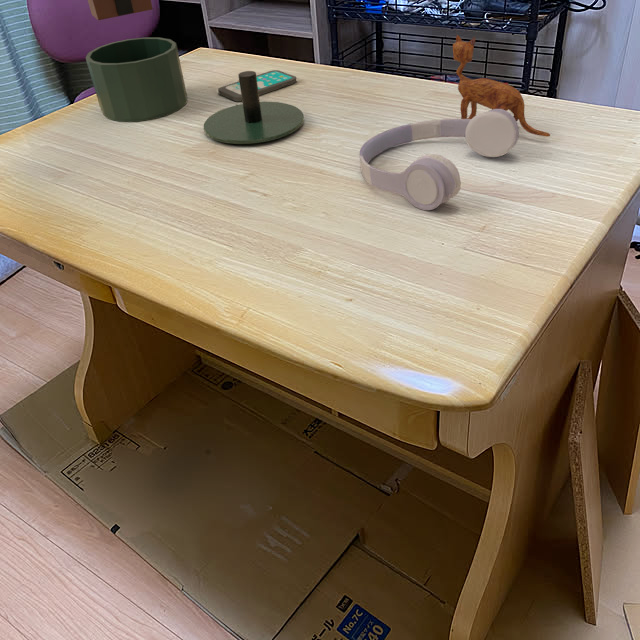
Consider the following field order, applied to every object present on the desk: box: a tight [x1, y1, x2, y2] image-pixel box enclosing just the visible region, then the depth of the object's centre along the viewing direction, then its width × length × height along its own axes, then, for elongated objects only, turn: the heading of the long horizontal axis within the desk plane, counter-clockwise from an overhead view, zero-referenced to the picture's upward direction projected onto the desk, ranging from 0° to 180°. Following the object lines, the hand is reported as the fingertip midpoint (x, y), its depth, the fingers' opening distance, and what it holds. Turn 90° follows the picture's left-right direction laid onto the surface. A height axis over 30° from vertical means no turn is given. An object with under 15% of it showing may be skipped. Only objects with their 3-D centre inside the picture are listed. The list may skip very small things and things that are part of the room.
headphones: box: [358, 109, 520, 211], centre depth 92 cm, size 22×7×20 cm
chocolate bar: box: [87, 0, 154, 21], centre depth 112 cm, size 10×5×4 cm, turn 119°
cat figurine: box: [452, 34, 551, 138], centre depth 98 cm, size 18×7×14 cm, turn 50°
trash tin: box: [85, 37, 188, 123], centre depth 120 cm, size 17×17×10 cm
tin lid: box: [203, 70, 305, 145], centre depth 108 cm, size 18×18×9 cm
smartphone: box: [217, 69, 298, 102], centre depth 126 cm, size 9×1×15 cm
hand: (121, 10), depth 113 cm, fingers closed on chocolate bar, 5 cm apart
